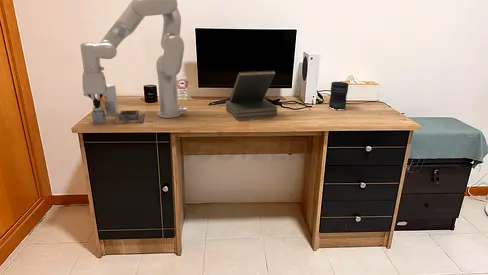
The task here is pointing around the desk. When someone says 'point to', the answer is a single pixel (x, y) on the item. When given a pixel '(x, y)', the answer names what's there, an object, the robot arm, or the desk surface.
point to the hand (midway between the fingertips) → (97, 107)
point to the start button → (97, 109)
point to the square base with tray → (129, 117)
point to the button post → (98, 117)
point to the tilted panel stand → (251, 96)
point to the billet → (111, 107)
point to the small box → (108, 94)
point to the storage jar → (338, 95)
